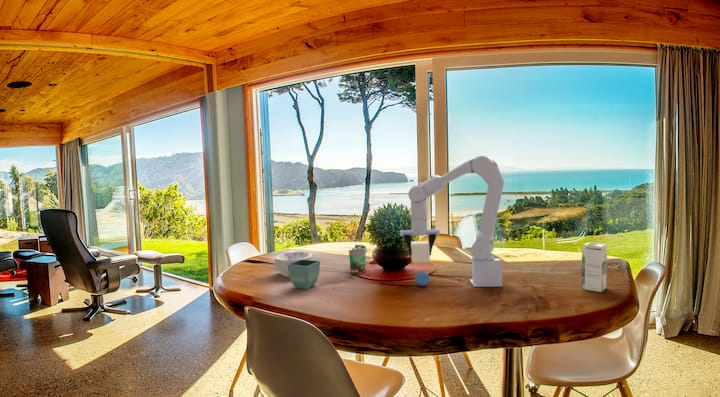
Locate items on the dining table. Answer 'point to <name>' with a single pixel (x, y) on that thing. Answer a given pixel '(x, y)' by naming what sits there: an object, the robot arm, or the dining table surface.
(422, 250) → the white cube block
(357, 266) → the food container
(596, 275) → the syrup box
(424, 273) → the ball
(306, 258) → the paper bowls
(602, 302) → the dining table surface
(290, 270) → the flower pot
